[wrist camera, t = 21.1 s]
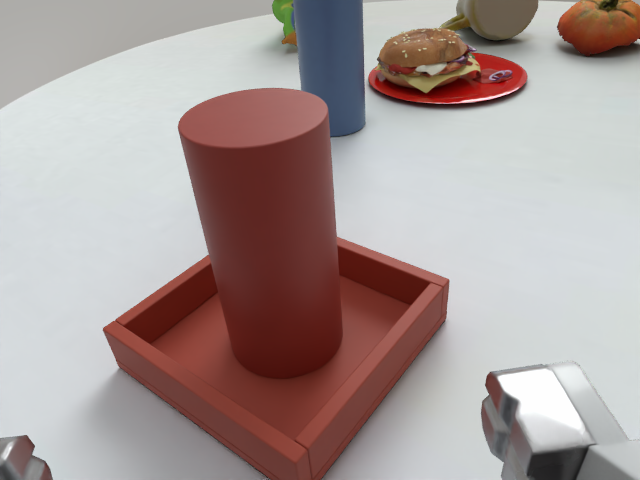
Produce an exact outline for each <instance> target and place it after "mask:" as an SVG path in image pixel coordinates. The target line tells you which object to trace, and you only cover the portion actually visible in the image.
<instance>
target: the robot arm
mask: <svg viewBox="0 0 640 480" xmlns="http://www.w3.org/2000/svg"><path fill="white" fill-rule="evenodd" d="M485 386H486V388H487V391H488V393H489V395H488V396H487V397H486V398H485V399H484V400H483V401H482V409H481V417H482V426H483V431H484V434H485V438H486V441H487V443H488V446H489V448H490V451H491V453H492V454H493V455H495V456H496V457H497V458H499V459H500V460H501V461H502V462H504V464H503V469H502V473H501V478H502V480H640V440H639V439H637V440H629V438H628V437H627V435H626V434H625V432H624V431H623V429H622V428H621V426H620V425H619V423H618V422H617V420H616V419H615V417H614V416H613V415H612V413H611V412H610V410H609V409H608V407H607V406H606V404H605V403H604V401H603V400H602V398H601V397H600V395H599V394H598V392H597V391H596V389H595V388H594V386H593V385H592V383H591V382H590V380H589V379H588V377H587V376H586V374H585V373H584V371H583V370H582V368H581V367H580V365H578V364H577V363H576V362H574V361H566V362H559V363H552V364H546V365H543V364H539V365H533V366H526V367H519V368H513V369H506V370H499V371H492V372H490V373H489V374H488V375H487V378H486V384H485ZM34 448H35V445H34V444H33V443H32V441H31V440H30V439H29V438H28V436H27V435H24V436H15V437H6V438H0V480H53V479H52V475H51V471H50V468H49V467H48V465H47V463H46V462H45V461H44V460H42V459H40V458H37V457H35V456H33V455H32V453H33V450H34Z"/></svg>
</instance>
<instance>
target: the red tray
mask: <svg viewBox="0 0 640 480" xmlns="http://www.w3.org/2000/svg"><path fill="white" fill-rule="evenodd" d="M337 250H338V265H339V280H340V296H341V311H342V326H343V337H342V341H341V344H340V346H339V348H338V350H337V352H336V353H335V355H334V356H333V357H332V358H331V359H330V360H329V361H328V362H327V363H326V364H324V365H323V366H321V367H320V368H318V369H316V370H314V371H313V372H310V373H308V374H305V375H302V376H298V377H293V378H282V379H280V378H269V377H264V376H260V375H258V374H255V373H253V372H251V371H249V370H248V369H246V368H245V367H244V366H242V365H241V364H240V362H239V361H238V360H237V359H236V357H235V355H234V353H233V350H232V346H231V342H230V338H229V334H228V330H227V326H226V322H225V318H224V314H223V310H222V306H221V302H220V298H219V293H218V289H217V285H216V281H215V277H214V273H213V269H212V265H211V261H210V257H209V255H207V256H206V257H205V258H203V259H202V260H200V261H199V262H197V263H196V264H195V265H193V266H192V267H190V268H189V269H187V270H186V271H185V272H183V273H182V274H180V275H179V276H177V277H176V278H174V279H173V280H172V281H170V282H169V283H167V284H166V285H164V286H163V287H162V288H160V289H159V290H157V291H156V292H154V293H153V294H151V295H150V296H149V297H147V298H146V299H144V300H143V301H141V302H140V303H139V304H137V305H136V306H134V307H133V308H131V309H130V310H129V311H127V312H126V313H124V314H123V315H121V316H120V317H118V318H117V319H116V320H115V321H113V322H111V323H110V324H108V325H107V326H106V327H104V328H103V331H104V334H105V336H106V338H107V340H108V343H109V345H110V347H111V350H112V352H113V354H114V356H115V358H116V361H117V364H118V366H119V367H120V368H122V369H123V370H124V371H126V372H127V373H128V374H130V375H131V376H132V377H134V378H135V379H136V380H138V381H139V382H140V383H142V384H143V385H144V386H146V387H147V388H148V389H150V390H151V391H153V392H154V393H155V394H157V395H158V396H159V397H161V398H162V399H163V400H165V401H166V402H167V403H169V404H170V405H171V406H173V407H174V408H175V409H177V410H178V411H179V412H181V413H182V414H183V415H185V416H186V417H187V418H189V419H190V420H192V421H193V422H194V423H196V424H197V425H198V426H200V427H201V428H202V429H204V430H205V431H206V432H208V433H209V434H210V435H212V436H213V437H214V438H216V439H217V440H218V441H220V442H221V443H222V444H224V445H225V446H227V447H228V448H229V449H231V450H232V451H233V452H235V453H236V454H237V455H239V456H240V457H241V458H243V459H244V460H245V461H247V462H248V463H249V464H251V465H252V466H253V467H255V468H256V469H257V470H259V471H260V472H262V473H263V474H264V475H266V476H267V477H268V478H270V479H271V480H321V478H322V477H323V476H324V474H325V473H326V472H327V471H328V469H329V468H330V467H331V465H332V464H333V463H334V462H335V460H336V459H337V458H338V457H339V455H340V454H341V453H342V451H343V450H344V449H345V448H346V446H347V445H348V444H349V442H350V441H351V440H352V439H353V437H354V436H355V435H356V433H357V432H358V431H359V430H360V428H361V427H362V426H363V424H364V423H365V422H366V421H367V419H368V418H369V417H370V415H371V414H372V413H373V412H374V410H375V409H376V408H377V406H378V405H379V404H380V403H381V401H382V400H383V399H384V398H385V396H386V395H387V394H388V392H389V391H390V390H391V389H392V387H393V386H394V385H395V383H396V382H397V381H398V380H399V378H400V377H401V376H402V374H403V373H404V372H405V371H406V369H407V368H408V367H409V365H410V364H411V363H412V362H413V360H414V359H415V358H416V356H417V355H418V354H419V353H420V351H421V350H422V349H423V347H424V346H425V345H426V344H427V342H428V341H429V340H430V339H431V337H432V336H433V335H434V333H435V332H436V331H437V330H438V328H439V327H440V326H441V324H442V323H443V322H444V321H445V319H446V314H447V311H446V310H447V302H448V291H449V279H447V278H444V277H442V276H439V275H436V274H434V273H431V272H428V271H426V270H423V269H420V268H418V267H415V266H413V265H410V264H407V263H405V262H402V261H399V260H397V259H394V258H391V257H389V256H386V255H384V254H381V253H378V252H376V251H373V250H370V249H368V248H365V247H362V246H360V245H357V244H355V243H352V242H349V241H347V240H344V239H341V238H339V237H337Z"/></svg>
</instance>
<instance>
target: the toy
mask: <svg viewBox="0 0 640 480" xmlns="http://www.w3.org/2000/svg"><path fill="white" fill-rule="evenodd" d="M272 8H273V13H274V15H275V17H276V18H277V19H278V20H279V21H280V22H282V23H284V27H283V31H284V34H285V39H284V40H282V44H286V43H289V44H295V46H297V38H296V32H295V25H294V24H295V17H294V6H293V0H274V2H273V4H272Z"/></svg>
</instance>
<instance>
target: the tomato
mask: <svg viewBox="0 0 640 480" xmlns="http://www.w3.org/2000/svg"><path fill="white" fill-rule="evenodd" d="M557 28H558V30H559V31H558V32H559V35H560V36H562V38H563V39H564V41H567V42H568V43H571V44H573V46H574V47H575V48H576V49H577V50H578V51H579V52H580V53H581V54H584V55H585V56H590V53H591V54H595V53H597V54H598V53H601V52H604V51H606V50H609V49H611V48H613V47H616V46H619V45H621V46H623V45H626V46H628V45H630V44H631V42H632V43H634V42H635V41H637V39H638V38H639V39H640V6H639V5H638V4H636V3H635V2H633V1H632V0H581V1H579V2H578V3H576V4H575V5H574V6H572V7H571V8H570V9H569V10H568V11H567V12H565V13H564V14H563V15H562V16H561V18H560V20H559V22H558V26H557Z"/></svg>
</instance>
